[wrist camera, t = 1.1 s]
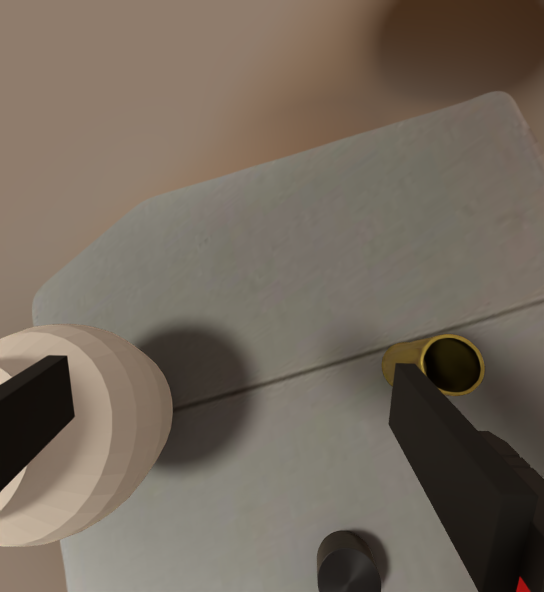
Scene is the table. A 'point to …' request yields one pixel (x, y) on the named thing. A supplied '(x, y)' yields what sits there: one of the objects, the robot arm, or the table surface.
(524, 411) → the table surface
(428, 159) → the table surface
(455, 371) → the vase
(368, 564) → the metal tin
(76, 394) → the vase
